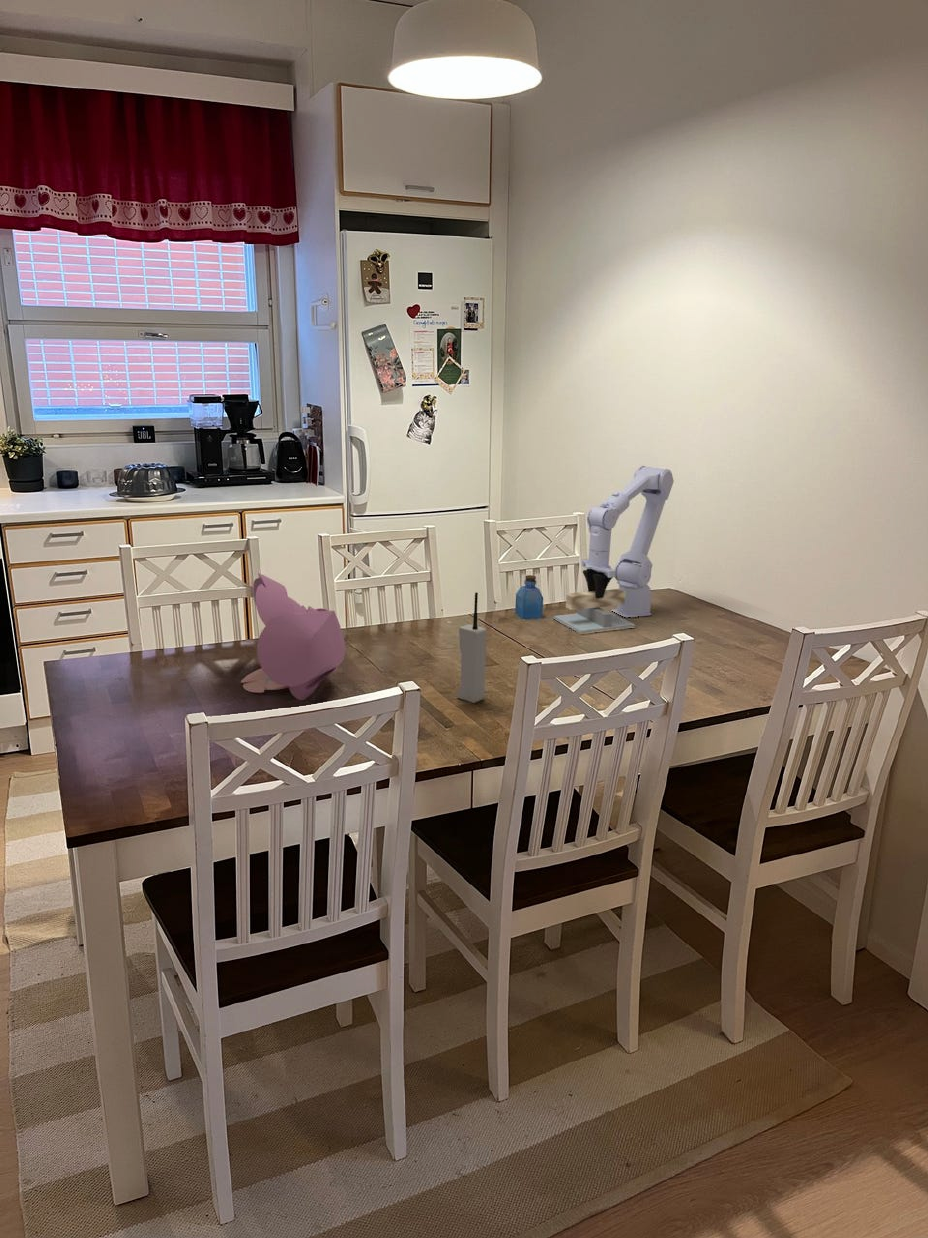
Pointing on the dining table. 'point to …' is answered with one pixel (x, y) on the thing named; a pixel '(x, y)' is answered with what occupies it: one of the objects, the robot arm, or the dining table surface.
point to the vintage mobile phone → (472, 660)
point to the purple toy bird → (293, 642)
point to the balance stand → (593, 620)
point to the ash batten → (595, 599)
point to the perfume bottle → (529, 600)
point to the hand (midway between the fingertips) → (595, 596)
